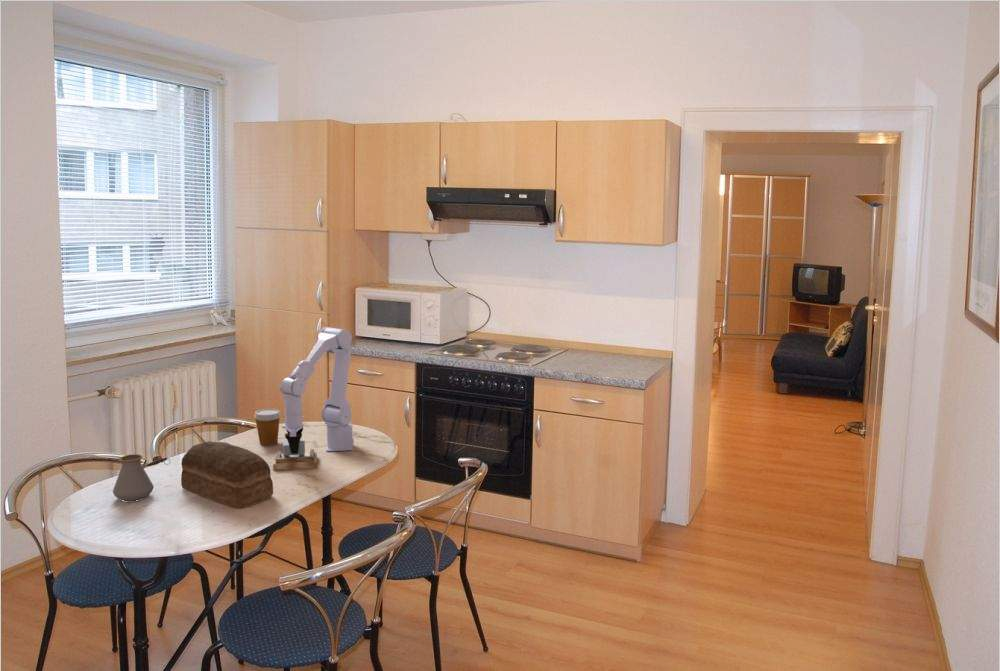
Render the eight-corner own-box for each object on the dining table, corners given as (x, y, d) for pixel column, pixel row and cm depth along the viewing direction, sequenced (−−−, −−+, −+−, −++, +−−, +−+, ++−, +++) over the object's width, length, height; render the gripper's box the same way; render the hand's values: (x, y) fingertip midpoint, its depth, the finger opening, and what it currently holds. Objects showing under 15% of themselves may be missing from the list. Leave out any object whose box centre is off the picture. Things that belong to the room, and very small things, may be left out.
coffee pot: (105, 500, 260) (101, 453, 257) (135, 488, 270) (132, 443, 267) (156, 513, 250) (152, 464, 248) (186, 499, 261) (182, 452, 258)
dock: (316, 457, 300) (316, 447, 300) (315, 467, 290) (315, 457, 289) (275, 459, 298) (275, 449, 297) (273, 470, 287) (272, 460, 286)
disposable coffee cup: (278, 447, 311) (276, 415, 309) (252, 447, 311) (250, 415, 309) (285, 439, 321) (283, 408, 318) (259, 439, 321) (258, 408, 319)
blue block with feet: (305, 454, 296) (304, 440, 295) (304, 459, 292) (304, 444, 291) (284, 456, 295) (283, 441, 294) (283, 460, 291) (282, 445, 290)
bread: (216, 476, 282) (213, 429, 279) (279, 497, 263) (276, 448, 260) (176, 488, 270) (173, 440, 267) (239, 512, 251) (236, 460, 248)
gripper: (282, 407, 297) (284, 445, 299) (279, 418, 283) (281, 458, 285) (303, 406, 298) (305, 444, 301) (301, 418, 284) (303, 457, 287)
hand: (295, 450), depth 293 cm, fingers closed on blue block with feet, 4 cm apart
